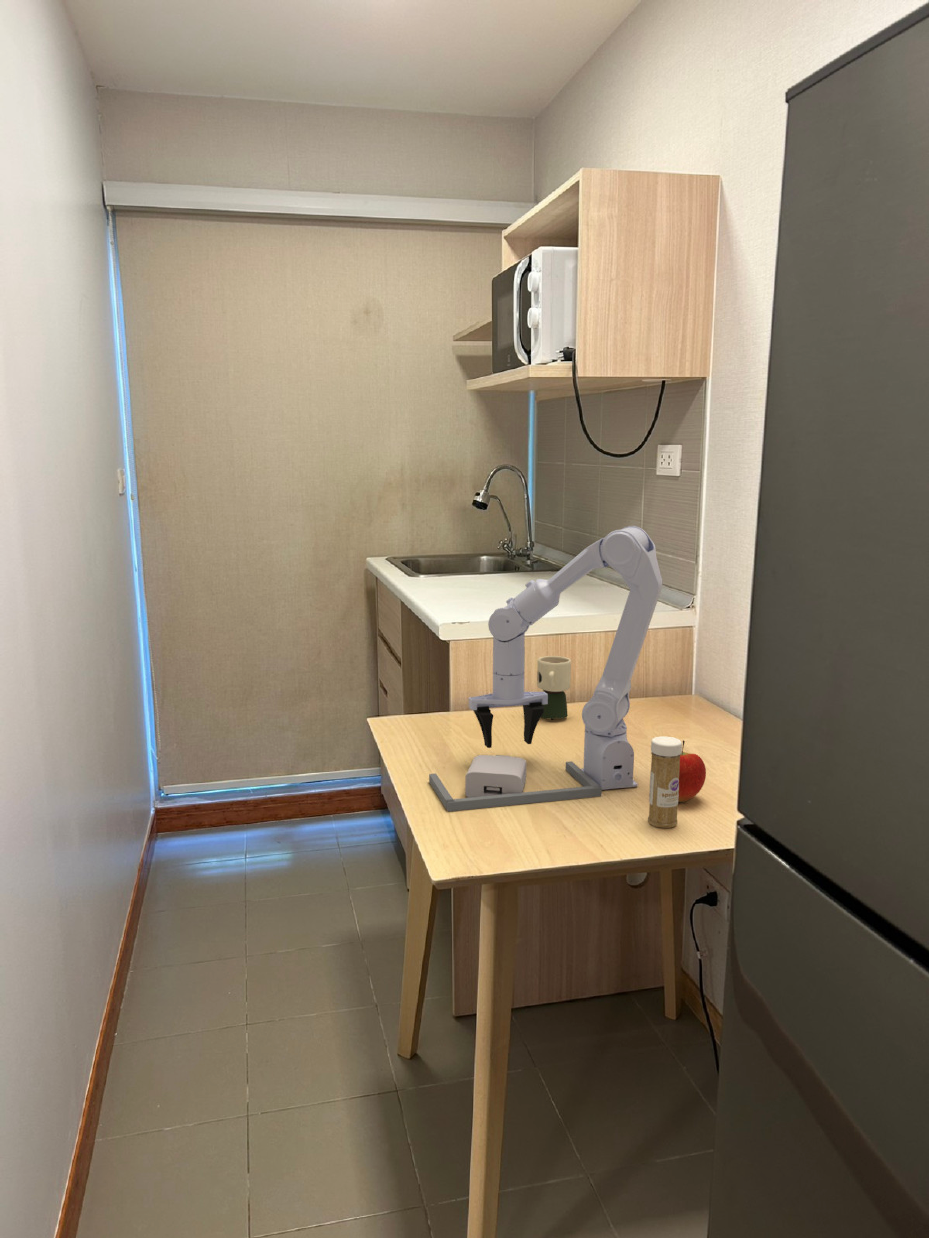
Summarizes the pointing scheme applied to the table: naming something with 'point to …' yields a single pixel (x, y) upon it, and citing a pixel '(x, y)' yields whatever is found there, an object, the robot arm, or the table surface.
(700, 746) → the table surface
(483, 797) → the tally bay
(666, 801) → the sprinkles bottle
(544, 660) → the character mug
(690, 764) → the apple
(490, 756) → the charger
